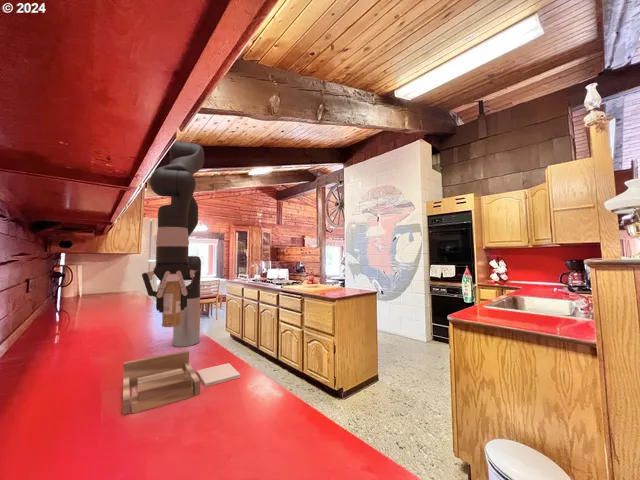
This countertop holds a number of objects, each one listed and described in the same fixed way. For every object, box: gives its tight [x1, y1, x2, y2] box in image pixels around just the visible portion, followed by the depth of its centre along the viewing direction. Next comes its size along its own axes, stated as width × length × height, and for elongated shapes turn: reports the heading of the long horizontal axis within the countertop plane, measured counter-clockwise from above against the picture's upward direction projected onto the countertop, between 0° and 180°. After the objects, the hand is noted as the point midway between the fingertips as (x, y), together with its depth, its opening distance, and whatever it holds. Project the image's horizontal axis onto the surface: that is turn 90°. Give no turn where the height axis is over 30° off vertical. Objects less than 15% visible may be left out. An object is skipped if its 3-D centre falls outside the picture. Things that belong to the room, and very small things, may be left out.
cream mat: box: [196, 362, 241, 388], centre depth 77 cm, size 10×9×1 cm
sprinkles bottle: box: [161, 274, 181, 328], centre depth 72 cm, size 5×5×13 cm
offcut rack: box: [122, 349, 201, 416], centre depth 69 cm, size 16×15×6 cm
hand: (171, 310), depth 72 cm, fingers closed on sprinkles bottle, 4 cm apart
